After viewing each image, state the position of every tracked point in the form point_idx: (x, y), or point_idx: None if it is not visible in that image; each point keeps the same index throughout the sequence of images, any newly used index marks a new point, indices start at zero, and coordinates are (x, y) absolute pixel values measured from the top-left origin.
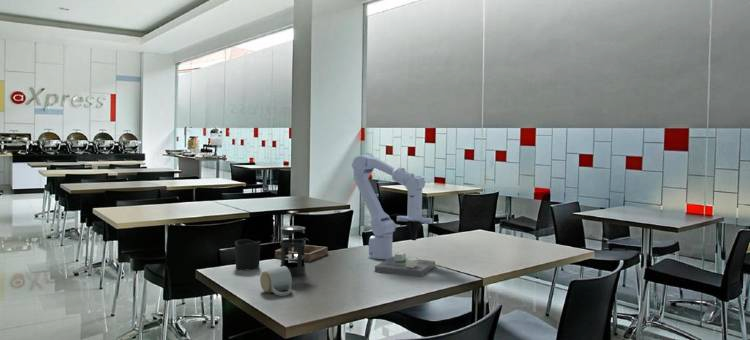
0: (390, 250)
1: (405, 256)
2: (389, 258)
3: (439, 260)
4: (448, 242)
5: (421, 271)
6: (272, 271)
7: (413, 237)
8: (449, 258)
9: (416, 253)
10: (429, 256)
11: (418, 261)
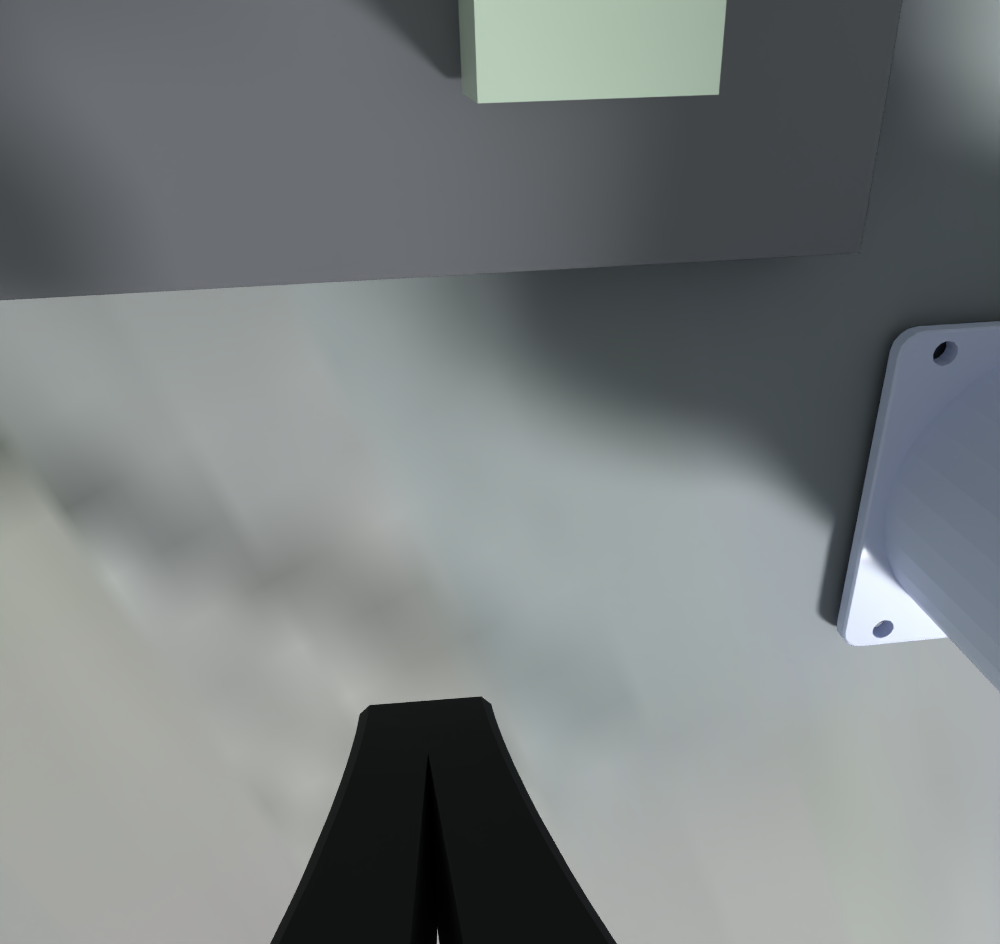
0: (984, 533)
1: (467, 79)
2: (886, 53)
3: (67, 744)
4: None
5: None
6: None
7: (403, 769)
8: (15, 910)
9: None
10: None
11: (76, 71)
